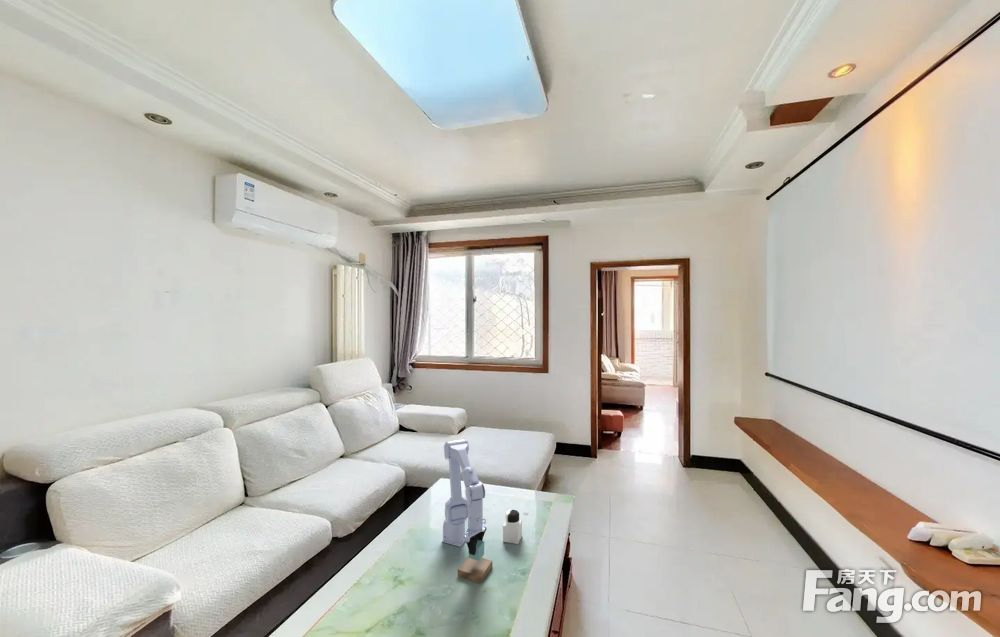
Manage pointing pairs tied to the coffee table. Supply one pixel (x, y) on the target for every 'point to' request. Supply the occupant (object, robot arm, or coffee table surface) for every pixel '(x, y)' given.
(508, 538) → the medicine bottle
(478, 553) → the teal block
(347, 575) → the coffee table surface
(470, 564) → the walnut slab
